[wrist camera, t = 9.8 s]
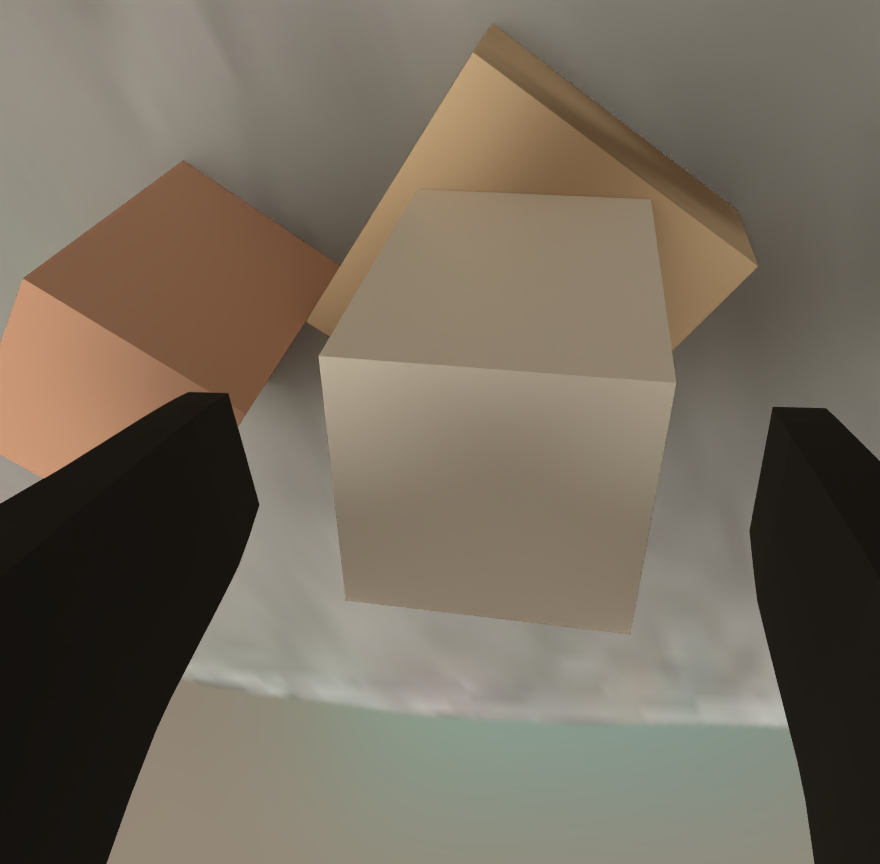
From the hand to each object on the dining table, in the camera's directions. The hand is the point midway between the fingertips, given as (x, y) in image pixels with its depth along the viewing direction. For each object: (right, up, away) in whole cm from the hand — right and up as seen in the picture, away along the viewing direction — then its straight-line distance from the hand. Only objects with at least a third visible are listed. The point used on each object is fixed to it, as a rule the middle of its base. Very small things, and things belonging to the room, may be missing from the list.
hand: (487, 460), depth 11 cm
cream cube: (+1, +3, +4) cm, 5 cm away
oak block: (+1, +5, +7) cm, 8 cm away
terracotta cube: (-6, +4, +8) cm, 11 cm away
